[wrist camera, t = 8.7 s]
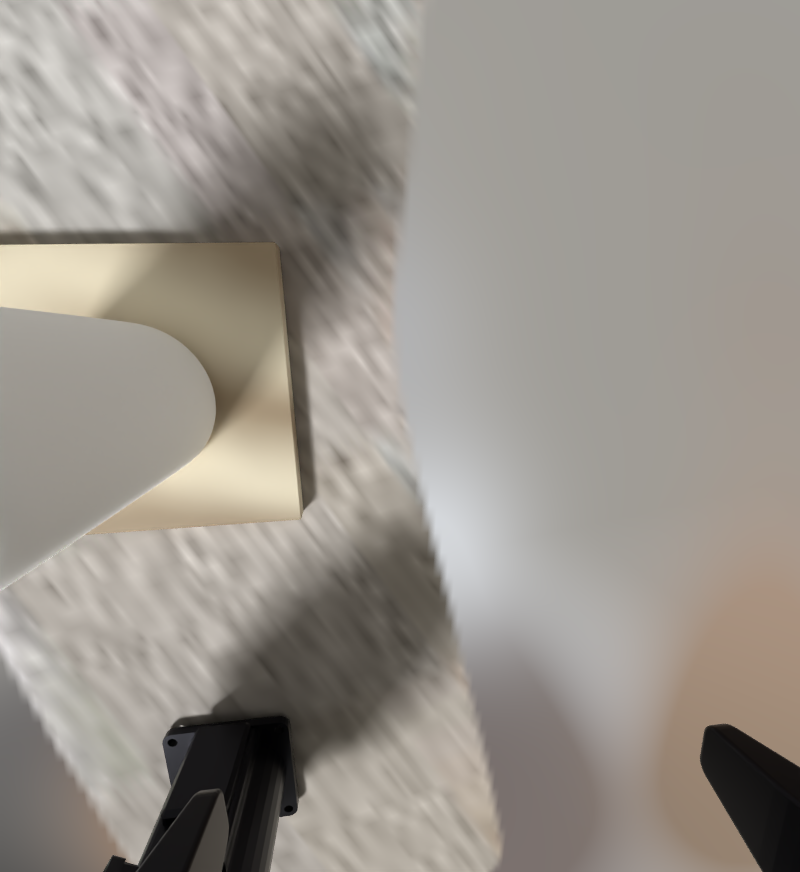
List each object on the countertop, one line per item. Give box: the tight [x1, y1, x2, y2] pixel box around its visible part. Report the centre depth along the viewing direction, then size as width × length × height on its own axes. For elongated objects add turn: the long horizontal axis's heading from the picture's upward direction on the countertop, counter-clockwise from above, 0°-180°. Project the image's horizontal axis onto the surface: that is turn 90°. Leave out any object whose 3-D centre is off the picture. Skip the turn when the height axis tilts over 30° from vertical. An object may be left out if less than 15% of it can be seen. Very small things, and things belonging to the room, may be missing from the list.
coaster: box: [0, 242, 303, 535], centre depth 17 cm, size 12×12×1 cm
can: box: [0, 307, 216, 591], centre depth 11 cm, size 6×6×12 cm
